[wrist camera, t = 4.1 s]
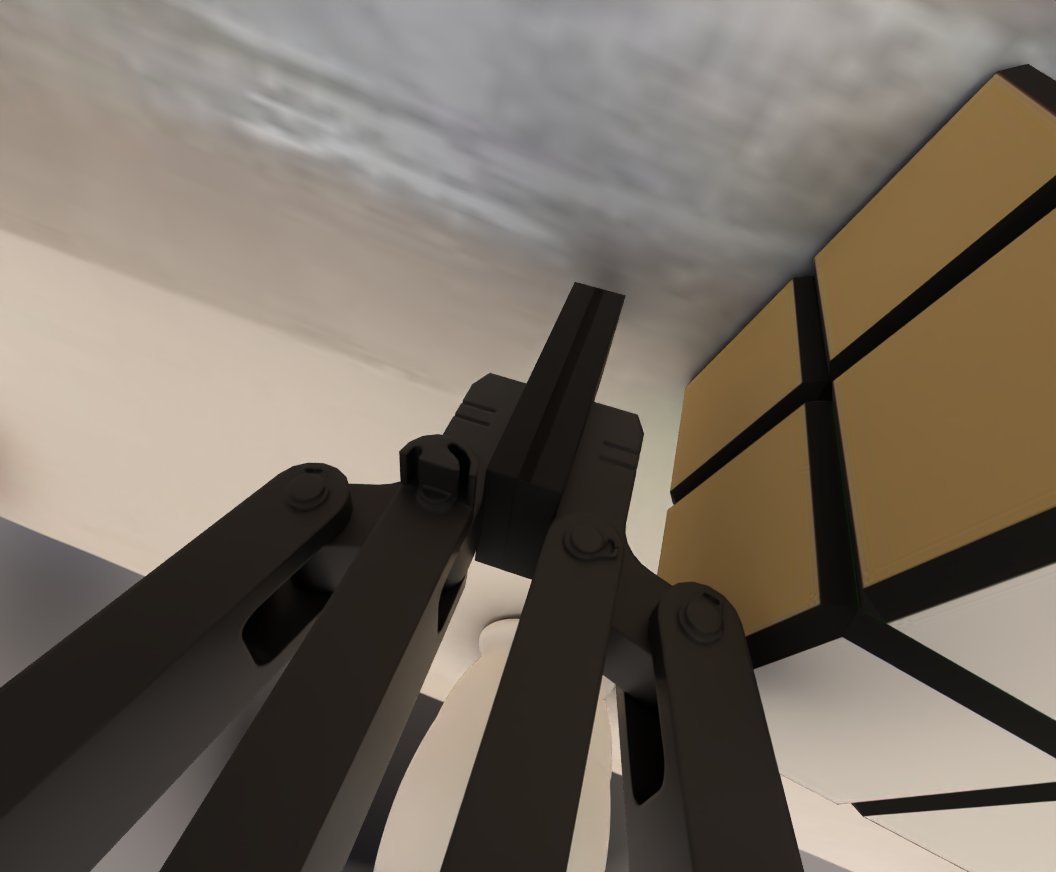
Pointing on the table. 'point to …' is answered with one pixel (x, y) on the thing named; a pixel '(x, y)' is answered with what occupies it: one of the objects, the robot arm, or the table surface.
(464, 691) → the jar
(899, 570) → the puzzle cube
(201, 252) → the table surface
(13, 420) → the table surface
